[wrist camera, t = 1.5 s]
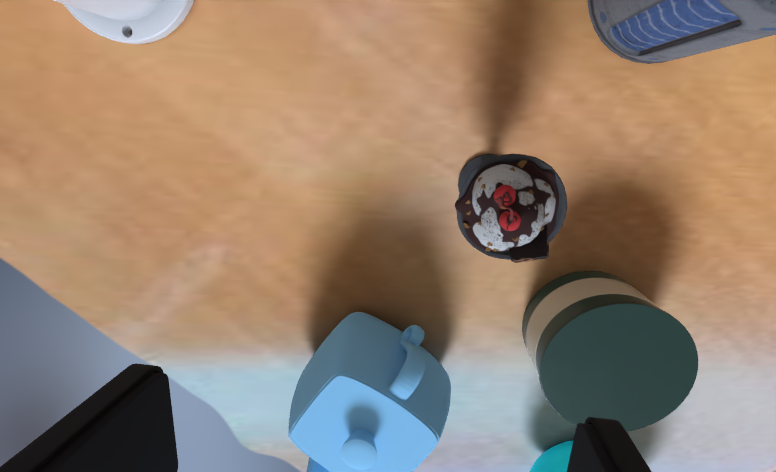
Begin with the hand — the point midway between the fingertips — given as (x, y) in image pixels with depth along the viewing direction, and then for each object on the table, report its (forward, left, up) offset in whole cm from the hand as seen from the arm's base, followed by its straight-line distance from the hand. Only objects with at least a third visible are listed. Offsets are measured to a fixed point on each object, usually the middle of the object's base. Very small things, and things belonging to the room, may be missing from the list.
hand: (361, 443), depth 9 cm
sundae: (-2, +6, -28) cm, 29 cm away
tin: (+11, +16, -28) cm, 34 cm away
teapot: (+18, -4, -28) cm, 33 cm away
